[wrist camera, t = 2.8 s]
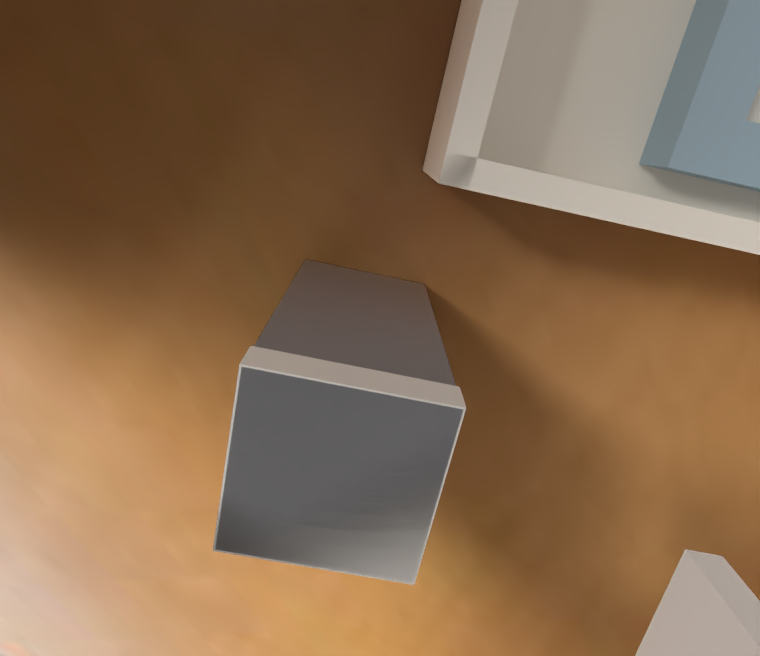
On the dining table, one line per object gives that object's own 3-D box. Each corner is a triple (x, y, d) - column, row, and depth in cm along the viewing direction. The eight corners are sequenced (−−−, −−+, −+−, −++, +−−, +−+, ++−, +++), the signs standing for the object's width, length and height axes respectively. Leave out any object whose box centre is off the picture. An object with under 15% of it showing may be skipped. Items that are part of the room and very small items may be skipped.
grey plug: (284, 370, 22) (213, 550, 12) (304, 257, 20) (239, 363, 11) (399, 393, 22) (414, 584, 13) (426, 282, 21) (466, 407, 11)
